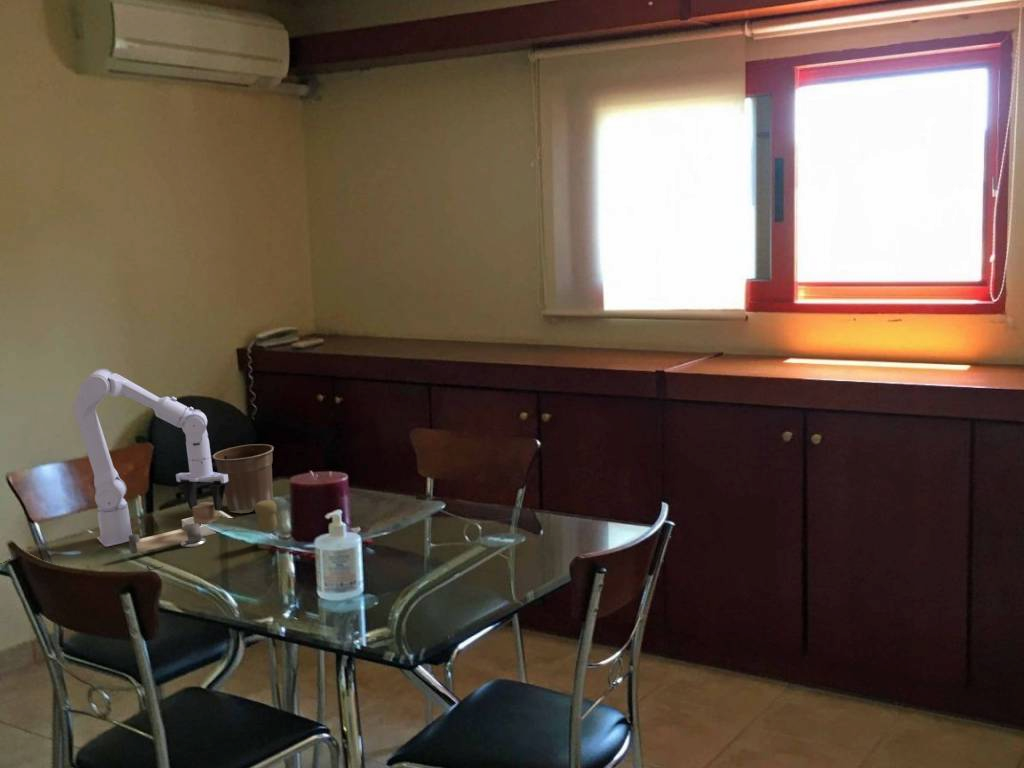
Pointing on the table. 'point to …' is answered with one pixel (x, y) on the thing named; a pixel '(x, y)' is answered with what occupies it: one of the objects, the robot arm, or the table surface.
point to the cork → (266, 516)
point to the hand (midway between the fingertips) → (206, 508)
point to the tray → (203, 529)
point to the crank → (165, 538)
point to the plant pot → (246, 474)
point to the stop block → (204, 513)
